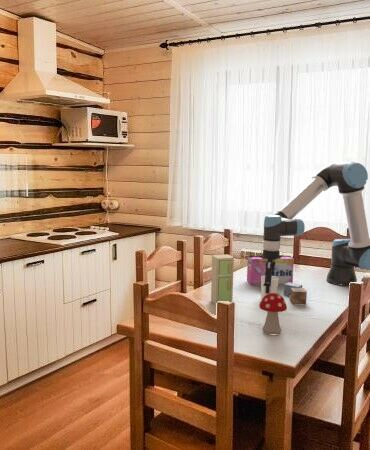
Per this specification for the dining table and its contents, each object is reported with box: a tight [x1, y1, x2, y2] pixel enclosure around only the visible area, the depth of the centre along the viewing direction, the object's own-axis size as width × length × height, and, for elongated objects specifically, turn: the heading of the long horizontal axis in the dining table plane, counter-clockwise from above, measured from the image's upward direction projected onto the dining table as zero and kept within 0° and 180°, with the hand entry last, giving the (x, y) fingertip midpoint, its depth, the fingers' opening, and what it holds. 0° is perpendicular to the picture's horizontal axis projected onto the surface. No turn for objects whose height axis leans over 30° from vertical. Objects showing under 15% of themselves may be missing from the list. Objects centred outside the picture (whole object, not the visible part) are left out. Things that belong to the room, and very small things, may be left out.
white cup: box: [260, 276, 279, 300], centre depth 207 cm, size 8×8×10 cm
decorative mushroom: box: [259, 292, 288, 335], centre depth 165 cm, size 10×9×15 cm
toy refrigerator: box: [210, 254, 235, 305], centre depth 198 cm, size 8×7×21 cm
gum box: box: [246, 255, 295, 286], centre depth 234 cm, size 24×8×14 cm, turn 98°
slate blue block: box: [283, 282, 303, 296], centre depth 215 cm, size 7×5×5 cm
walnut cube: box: [289, 287, 308, 305], centre depth 202 cm, size 6×6×6 cm
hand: (268, 296), depth 207 cm, fingers open, 11 cm apart
